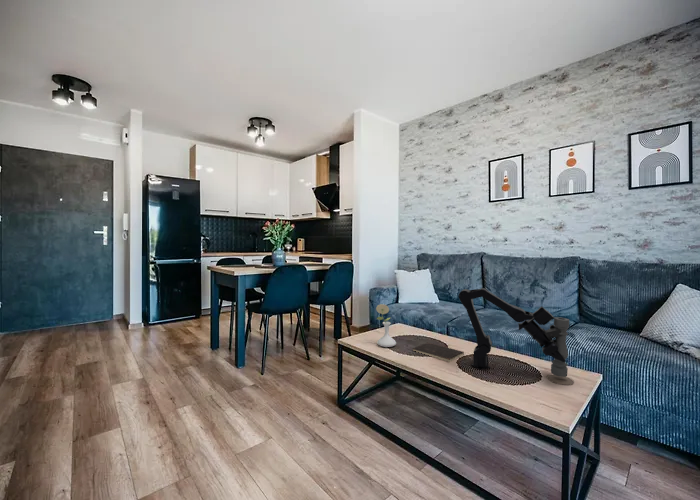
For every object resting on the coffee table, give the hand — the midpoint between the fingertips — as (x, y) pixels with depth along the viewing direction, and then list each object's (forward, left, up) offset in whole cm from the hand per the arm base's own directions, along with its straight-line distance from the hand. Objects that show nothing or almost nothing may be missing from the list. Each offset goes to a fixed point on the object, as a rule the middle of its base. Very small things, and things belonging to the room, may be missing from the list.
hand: (563, 359), depth 139 cm
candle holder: (-1, +1, -7) cm, 7 cm away
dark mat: (-1, +1, -10) cm, 10 cm away
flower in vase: (-53, +71, -10) cm, 90 cm away
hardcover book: (-31, +49, -11) cm, 59 cm away
